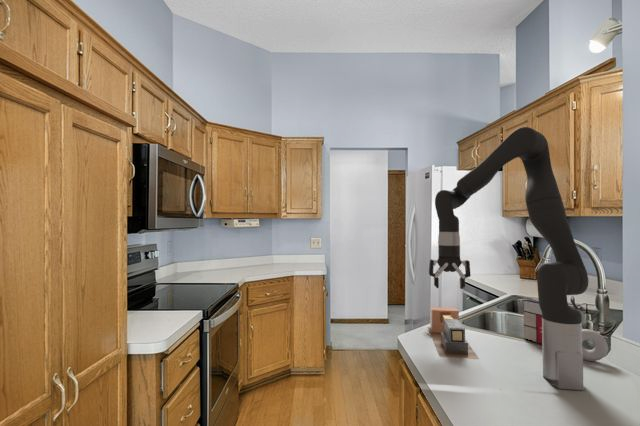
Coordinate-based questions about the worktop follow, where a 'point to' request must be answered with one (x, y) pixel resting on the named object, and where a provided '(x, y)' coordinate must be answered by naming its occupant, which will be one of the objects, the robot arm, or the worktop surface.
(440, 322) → the socket block
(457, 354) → the base board
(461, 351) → the sleeve
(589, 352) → the donut
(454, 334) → the yellow square peg
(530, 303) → the grey and red box
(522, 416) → the worktop surface
